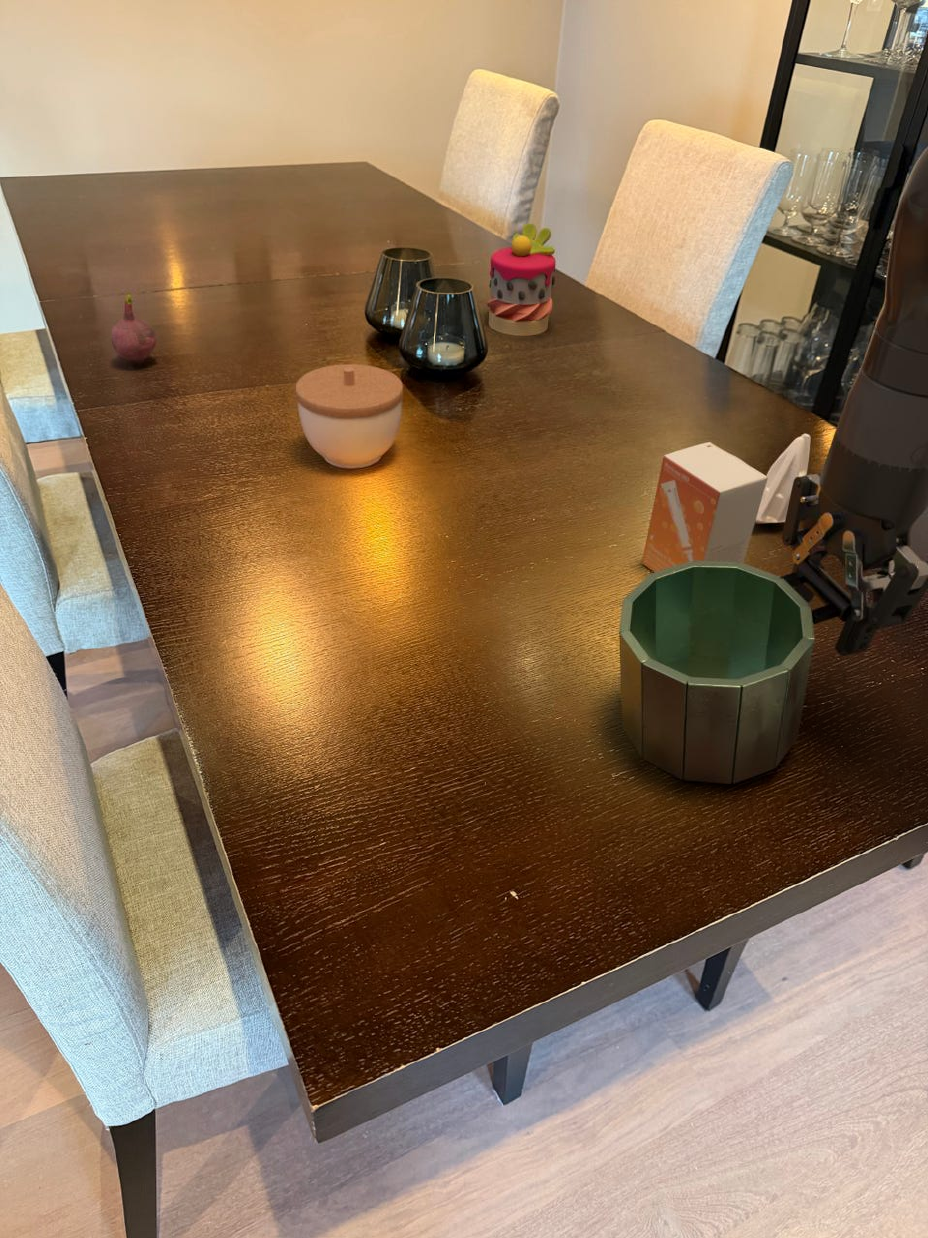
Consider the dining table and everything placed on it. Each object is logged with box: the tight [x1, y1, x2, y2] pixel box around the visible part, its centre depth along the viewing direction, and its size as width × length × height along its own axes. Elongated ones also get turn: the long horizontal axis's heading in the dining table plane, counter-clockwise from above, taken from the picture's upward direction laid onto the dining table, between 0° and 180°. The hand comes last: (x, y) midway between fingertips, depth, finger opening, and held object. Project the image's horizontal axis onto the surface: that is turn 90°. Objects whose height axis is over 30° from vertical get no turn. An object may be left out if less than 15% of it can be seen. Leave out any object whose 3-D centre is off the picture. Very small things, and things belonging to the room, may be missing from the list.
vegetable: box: [110, 294, 157, 364], centre depth 126 cm, size 6×6×10 cm
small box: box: [641, 441, 768, 573], centre depth 89 cm, size 8×6×13 cm
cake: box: [486, 222, 557, 337], centre depth 143 cm, size 10×11×15 cm
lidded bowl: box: [294, 363, 404, 469], centre depth 107 cm, size 13×13×11 cm
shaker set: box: [755, 433, 812, 524], centre depth 99 cm, size 12×4×11 cm, turn 99°
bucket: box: [618, 560, 851, 785], centre depth 72 cm, size 11×14×18 cm
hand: (822, 625), depth 72 cm, fingers closed on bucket, 6 cm apart
